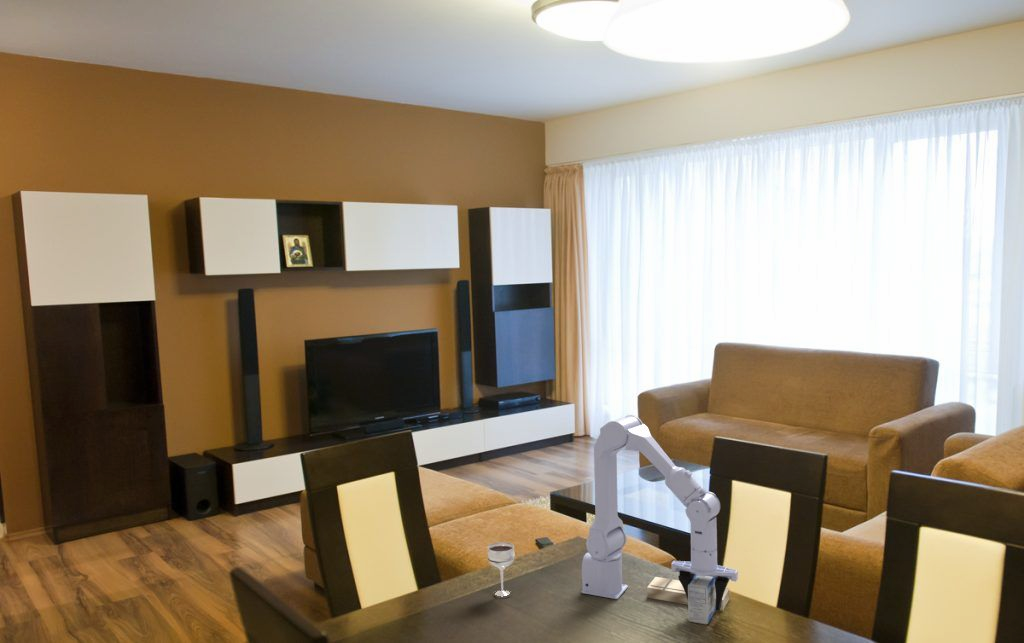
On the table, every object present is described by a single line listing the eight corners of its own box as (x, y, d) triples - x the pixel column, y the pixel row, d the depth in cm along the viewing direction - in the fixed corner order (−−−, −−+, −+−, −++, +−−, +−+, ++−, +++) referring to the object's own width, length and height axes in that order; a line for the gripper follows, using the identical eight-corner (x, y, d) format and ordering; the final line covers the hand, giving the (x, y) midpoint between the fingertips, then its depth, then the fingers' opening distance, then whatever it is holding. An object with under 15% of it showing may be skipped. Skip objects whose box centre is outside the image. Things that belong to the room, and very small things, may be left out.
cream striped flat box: (647, 597, 184) (647, 586, 184) (655, 586, 190) (655, 576, 190) (723, 610, 176) (722, 599, 176) (729, 598, 182) (729, 587, 182)
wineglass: (510, 601, 184) (508, 553, 183) (484, 598, 187) (482, 550, 186) (520, 590, 190) (518, 543, 190) (495, 587, 193) (493, 540, 192)
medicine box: (707, 625, 169) (707, 587, 168) (687, 621, 171) (687, 584, 170) (715, 611, 176) (715, 574, 175) (696, 607, 178) (696, 571, 177)
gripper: (667, 549, 172) (668, 607, 173) (733, 558, 165) (733, 619, 166) (675, 538, 178) (676, 595, 179) (739, 547, 171) (740, 606, 172)
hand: (704, 606), depth 173 cm, fingers open, 5 cm apart
